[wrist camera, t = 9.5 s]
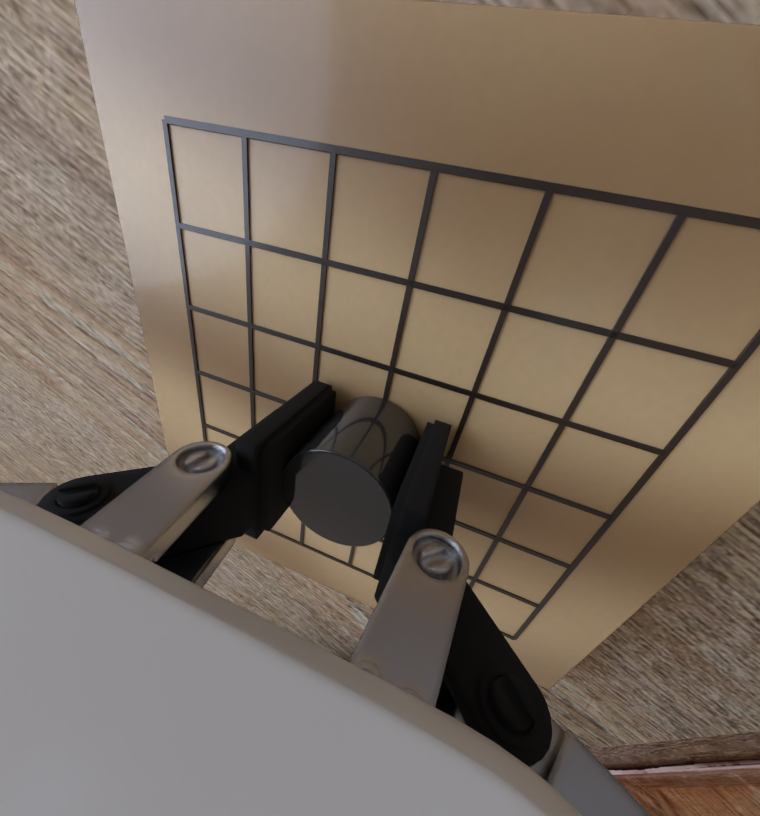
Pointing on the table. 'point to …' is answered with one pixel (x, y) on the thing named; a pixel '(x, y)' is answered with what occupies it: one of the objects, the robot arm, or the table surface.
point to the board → (459, 268)
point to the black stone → (352, 471)
